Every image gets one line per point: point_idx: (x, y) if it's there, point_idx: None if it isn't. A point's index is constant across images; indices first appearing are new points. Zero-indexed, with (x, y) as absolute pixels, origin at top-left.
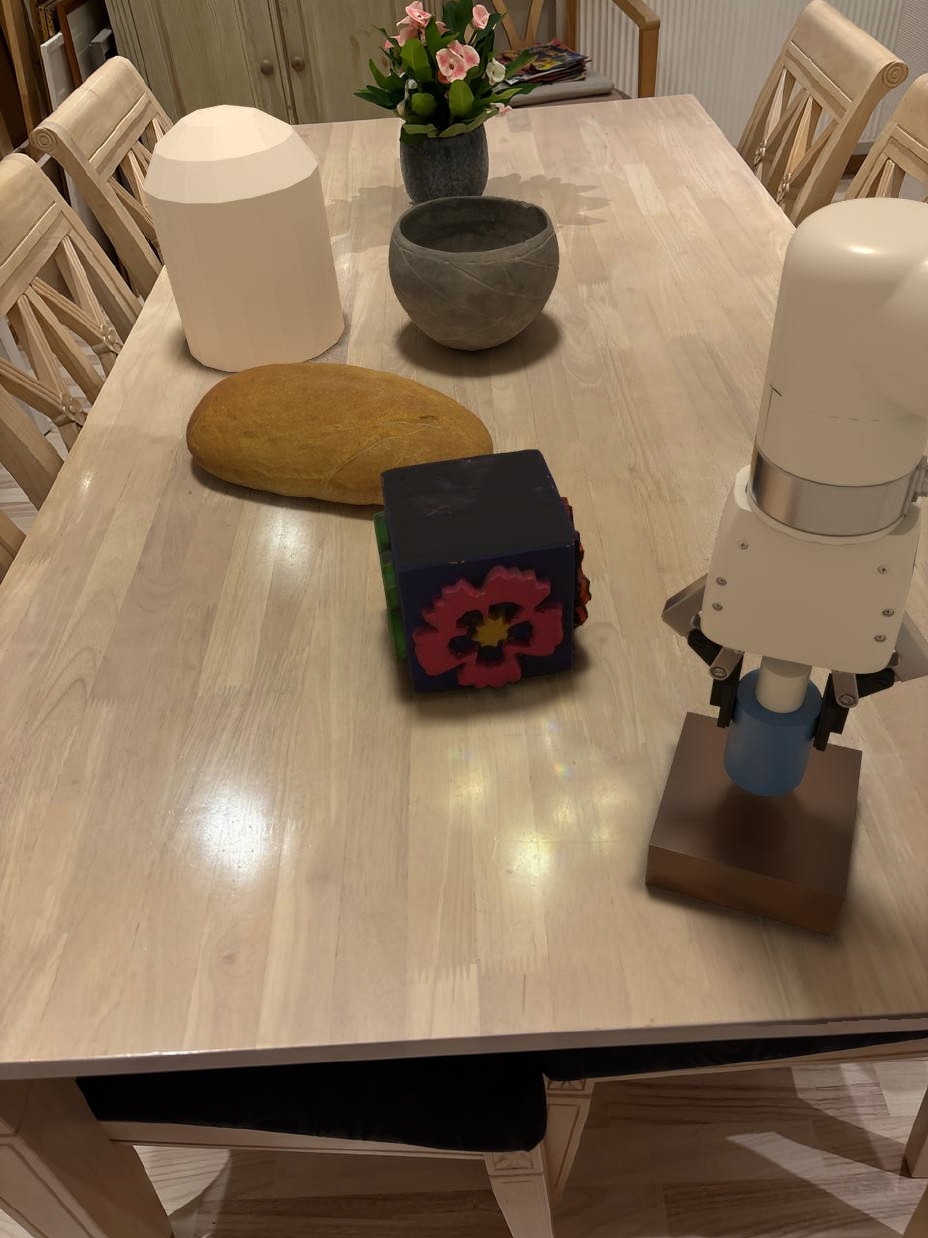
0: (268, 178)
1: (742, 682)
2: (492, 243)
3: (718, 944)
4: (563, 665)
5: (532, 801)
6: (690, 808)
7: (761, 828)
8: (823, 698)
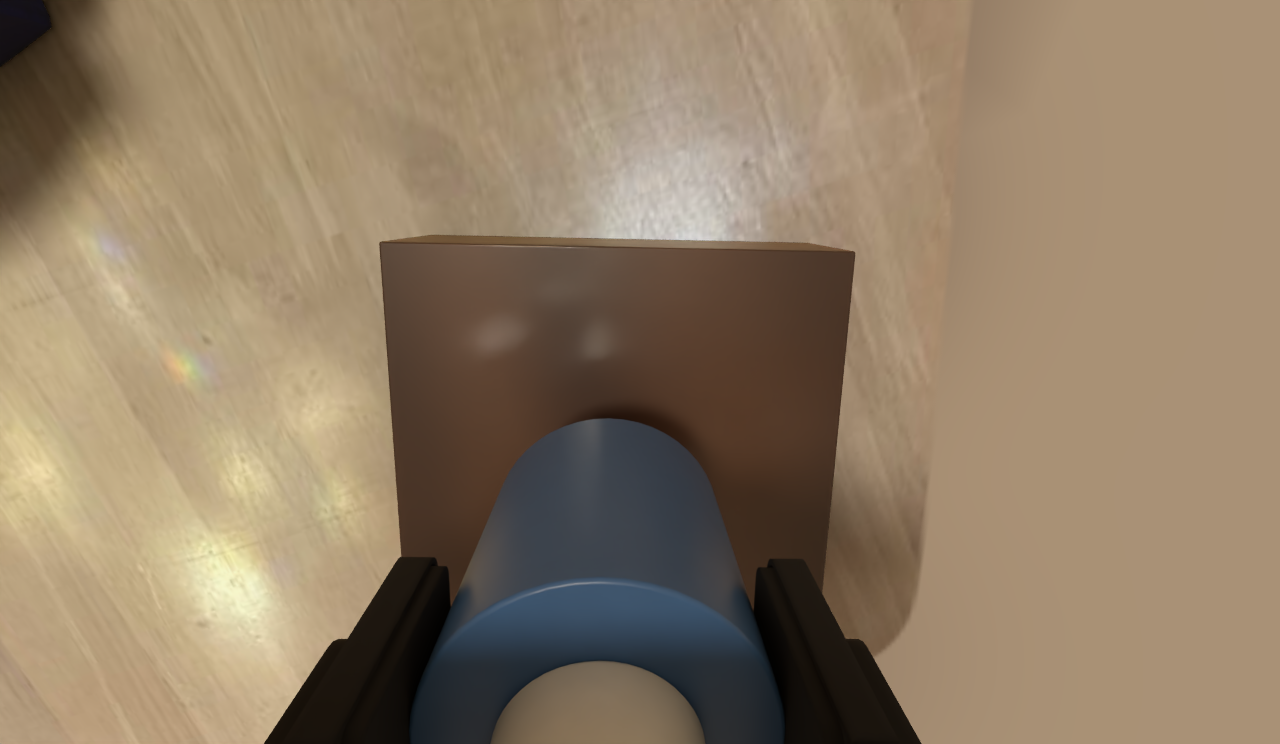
0: None
1: (425, 724)
2: None
3: None
4: (16, 37)
5: (168, 466)
6: (470, 547)
7: None
8: (789, 728)
